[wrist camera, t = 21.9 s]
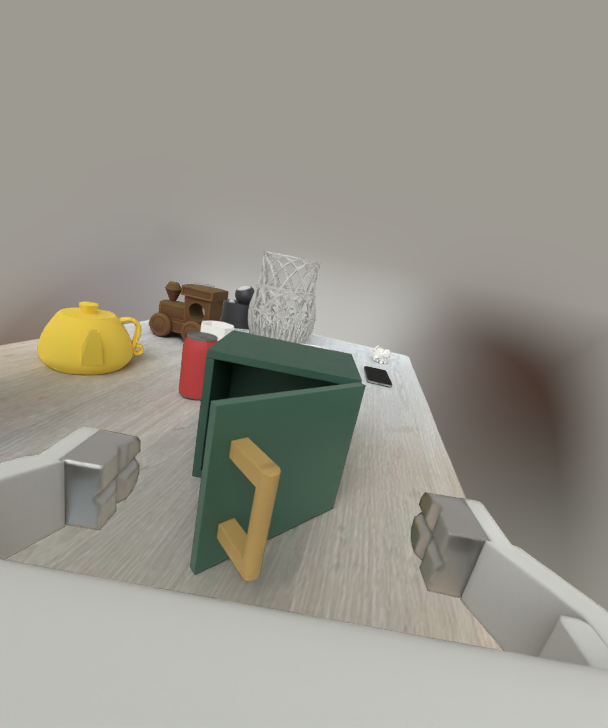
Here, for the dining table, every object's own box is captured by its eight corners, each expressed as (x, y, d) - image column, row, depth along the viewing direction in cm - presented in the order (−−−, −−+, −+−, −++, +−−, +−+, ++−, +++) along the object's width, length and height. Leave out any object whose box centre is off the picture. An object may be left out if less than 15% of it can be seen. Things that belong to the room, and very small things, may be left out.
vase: (290, 333, 139) (304, 259, 130) (322, 351, 120) (340, 266, 111) (235, 329, 125) (246, 247, 117) (261, 349, 106) (277, 252, 98)
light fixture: (217, 279, 131) (250, 284, 140) (213, 319, 136) (244, 321, 144) (231, 285, 121) (265, 290, 130) (225, 327, 126) (258, 329, 134)
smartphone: (367, 380, 95) (364, 365, 109) (367, 382, 95) (363, 367, 109) (393, 385, 94) (386, 370, 109) (392, 387, 94) (385, 372, 109)
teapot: (38, 350, 71) (36, 290, 67) (136, 351, 82) (138, 300, 78) (35, 387, 56) (33, 312, 52) (155, 381, 67) (160, 320, 64)
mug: (190, 361, 83) (195, 323, 80) (205, 353, 91) (209, 318, 88) (236, 372, 81) (242, 334, 79) (247, 363, 90) (253, 328, 87)
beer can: (198, 404, 61) (205, 342, 58) (170, 393, 64) (176, 333, 60) (220, 394, 67) (227, 338, 64) (194, 384, 69) (200, 329, 66)
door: (365, 537, 38) (406, 405, 33) (221, 627, 26) (254, 441, 21) (327, 503, 42) (359, 381, 38) (189, 566, 30) (210, 400, 26)
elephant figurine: (365, 359, 121) (369, 343, 119) (380, 359, 125) (385, 344, 124) (378, 365, 116) (382, 349, 114) (393, 366, 120) (398, 350, 118)
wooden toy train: (223, 343, 105) (230, 290, 100) (205, 350, 94) (211, 291, 89) (168, 328, 108) (172, 276, 104) (143, 333, 98) (147, 276, 93)
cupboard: (329, 502, 43) (362, 380, 38) (191, 476, 42) (206, 349, 38) (327, 452, 54) (351, 354, 49) (218, 431, 54) (232, 330, 49)
